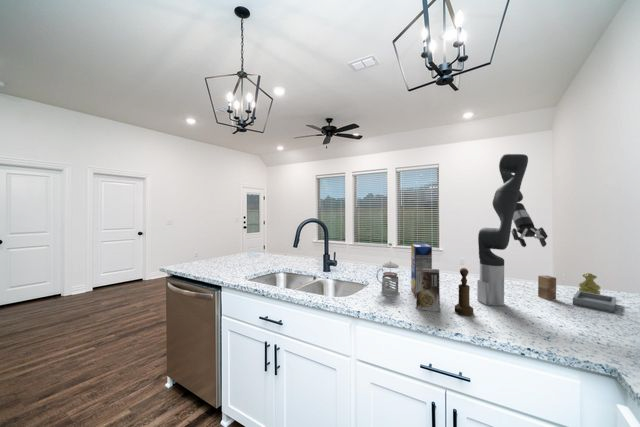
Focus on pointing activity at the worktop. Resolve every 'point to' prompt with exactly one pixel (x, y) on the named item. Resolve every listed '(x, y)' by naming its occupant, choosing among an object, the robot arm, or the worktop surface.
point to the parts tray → (595, 301)
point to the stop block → (547, 287)
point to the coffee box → (427, 289)
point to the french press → (394, 278)
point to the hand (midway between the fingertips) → (534, 246)
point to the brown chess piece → (464, 296)
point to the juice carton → (419, 261)
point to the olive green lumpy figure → (589, 284)
